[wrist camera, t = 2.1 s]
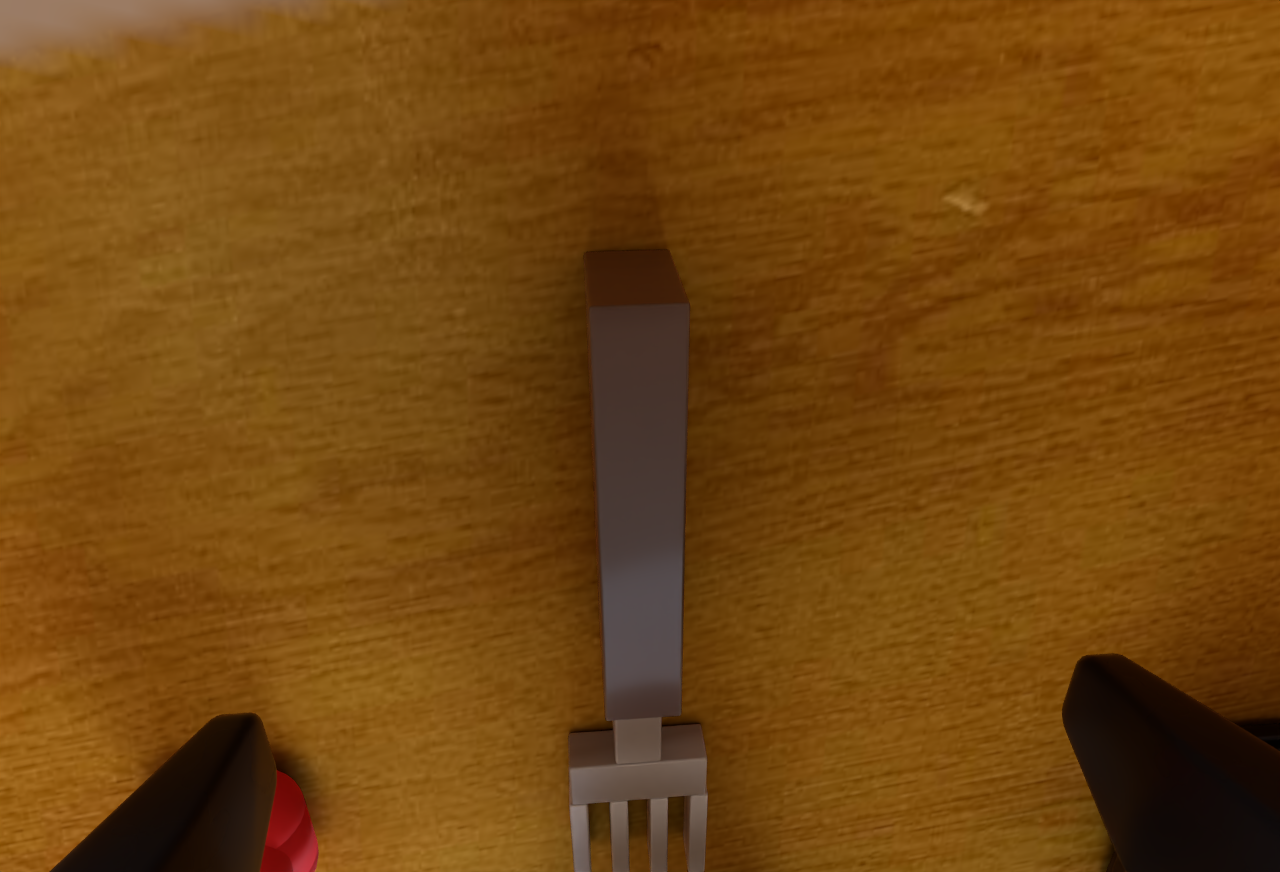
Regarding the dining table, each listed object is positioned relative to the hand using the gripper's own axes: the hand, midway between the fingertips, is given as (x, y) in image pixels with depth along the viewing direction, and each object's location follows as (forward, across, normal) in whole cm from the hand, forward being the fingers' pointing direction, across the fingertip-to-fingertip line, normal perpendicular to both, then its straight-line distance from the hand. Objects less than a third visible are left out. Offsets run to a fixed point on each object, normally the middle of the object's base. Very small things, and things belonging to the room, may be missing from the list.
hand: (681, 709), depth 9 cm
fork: (+7, 0, +4) cm, 8 cm away
